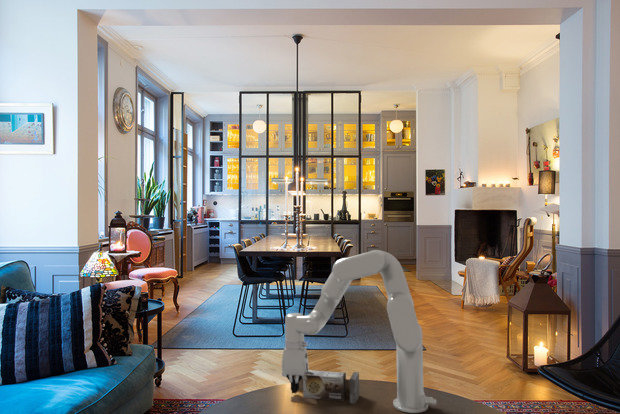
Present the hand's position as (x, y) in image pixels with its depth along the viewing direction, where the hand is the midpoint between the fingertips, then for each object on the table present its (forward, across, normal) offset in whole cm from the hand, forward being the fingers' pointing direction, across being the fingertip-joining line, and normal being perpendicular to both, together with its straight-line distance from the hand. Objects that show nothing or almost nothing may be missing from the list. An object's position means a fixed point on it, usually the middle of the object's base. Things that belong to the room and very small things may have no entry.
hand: (294, 392), depth 165 cm
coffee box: (-3, -4, -1) cm, 5 cm away
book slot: (+1, -11, 0) cm, 11 cm away
